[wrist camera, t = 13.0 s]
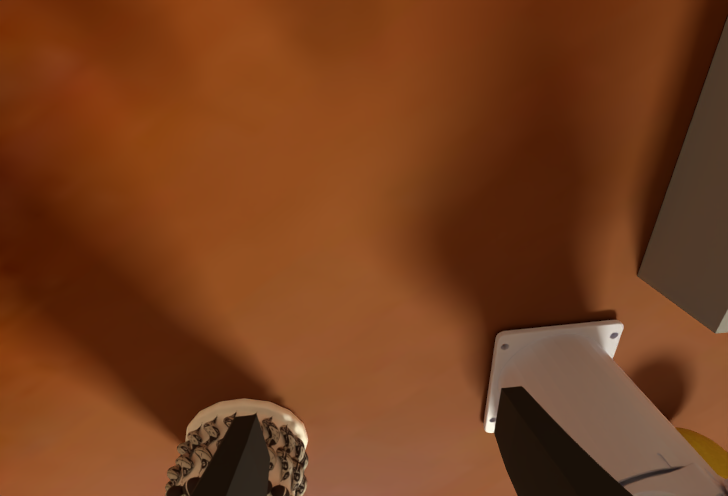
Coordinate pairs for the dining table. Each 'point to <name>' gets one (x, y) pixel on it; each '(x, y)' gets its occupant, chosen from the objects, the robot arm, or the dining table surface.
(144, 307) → the dining table surface
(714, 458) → the lemon
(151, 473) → the dining table surface
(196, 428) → the decorative candle
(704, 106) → the grey rectangular bar
